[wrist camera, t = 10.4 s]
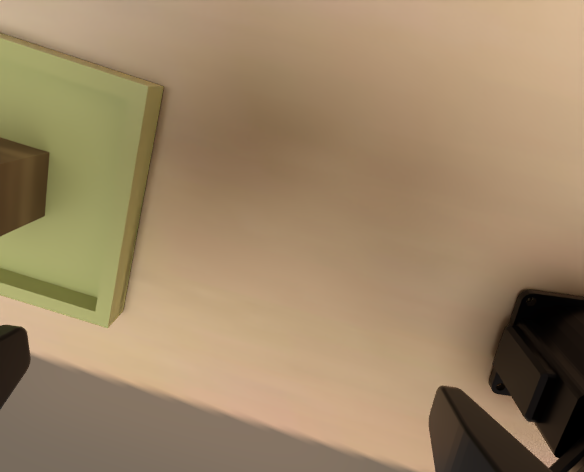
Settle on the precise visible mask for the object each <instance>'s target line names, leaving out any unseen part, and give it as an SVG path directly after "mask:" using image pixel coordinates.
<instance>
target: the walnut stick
mask: <svg viewBox="0 0 584 472" xmlns="http://www.w3.org/2000/svg"><path fill="white" fill-rule="evenodd" d="M49 153H50V152H47V151H43V150H40V149H37V148H33V147H30V146H27V145H24V144H20V143H17V142H14V141H11V140H7V139H4V138H1V137H0V236H2V235H5V234H7V233H9V232H11V231H13V230H16V229H18V228H20V227H22V226H24V225H26V224H29V223H31V222H33V221H35V220H37V219H40V218H42V217H44V216H45V206H46V193H47V180H48V167H49Z"/></svg>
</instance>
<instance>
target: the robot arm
mask: <svg viewBox="0 0 584 472" xmlns="http://www.w3.org/2000/svg"><path fill="white" fill-rule="evenodd" d="M529 298H533V299H532V301H530V302H526V301H527V299H529ZM30 359H31V358H30V350H29V343H28V336H27V331H26V330H25V329H24V328H23V327H19V326H12V325H2V326H0V409H1V408H2V406H3V405H4V403H5V402H6V400H7V399H8V397H9V396H10V395H11V393H12V392H13V390H14V389H15V387H16V386H17V384H18V383H19V381H20V380H21V378H22V377H23V375H24V374H25V372H26V371H27V369H28V367H29V364H30ZM493 366H494V368H493V371H492V374H491V377H490V380H489V385H490V387H491V389H492V391H493V392H494V393H497V394H502V395H509V396H512V398H513V400H514V401H515V403H516V405H517V406H518V408H519V410H520V411H521V413H522V415H523V416H524V417H525V419H526V420H527V421H529V422H534V423H535V425H536V426H537V428H538V429H539V431H540V433H541V434H542V436H543V438H544V439H545V441H546V442H547V444H548V446H549V447H550V449H551V450H552V452H553V454H554V455H555V456H556V457H557V458H559V459H558V460H557V461H556V462H555V463H554V464H553V465H552V466H551V467H550V468H548V467H547V466H546V465H545V464H543V463H542V462H541V461H540V460H539V459H538V458H537V457H536V456H535V455H533V454H532V453H531V452H530V451H529V450H528V449H527V448H526V447H524V446H523V445H522V444H521V443H520V442H519V441H518V440H517V439H516V438H514V437H513V436H512V435H511V434H510V433H509V432H508V431H507V430H506V429H504V428H503V427H502V426H501V425H500V424H499V423H498V422H497V421H496V420H494V419H493V418H492V417H491V416H490V415H489V414H488V413H487V412H485V411H484V410H483V409H482V408H481V407H480V406H479V405H478V404H477V403H475V402H474V401H473V400H472V399H471V398H470V397H469V396H468V395H467V394H465V393H464V392H463V391H462V390H461V389H459V388H456V387H449V386H440V387H439V388H438V389H437V391H436V394H435V398H434V401H433V405H432V408H431V412H430V415H429V431H430V438H431V445H432V451H433V458H434V465H435V471H436V472H584V297H581V296H574V295H566V294H558V293H551V292H543V291H536V290H525V291H523V292H522V293H520V295H519V296H518V299H517V302H516V304H515V307H514V310H513V313H512V316H511V319H510V322H509V325H508V326H507V327H505V329H504V332H503V335H502V338H501V341H500V344H499V346H498V349H497V352H496V355H495V358H494V361H493ZM499 383H502V384H501V385H499V386H497V384H499Z"/></svg>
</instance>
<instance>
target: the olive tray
mask: <svg viewBox="0 0 584 472" xmlns="http://www.w3.org/2000/svg"><path fill="white" fill-rule="evenodd" d="M163 89H164V86H161V85H158V84H155V83H152V82H149V81H146V80H142V79H139V78H136V77H133V76H130V75H127V74H124V73H121V72H118V71H115V70H112V69H109V68H106V67H103V66H100V65H97V64H94V63H91V62H88V61H85V60H82V59H78V58H75V57H72V56H69V55H66V54H63V53H60V52H57V51H54V50H51V49H48V48H45V47H42V46H39V45H36V44H33V43H30V42H27V41H24V40H21V39H17V38H14V37H11V36H8V35H5V34H2V33H0V137H1V138H4V139H7V140H11V141H14V142H17V143H20V144H24V145H27V146H30V147H33V148H37V149H40V150H43V151H47V152H50V153H49V167H48V180H47V193H46V206H45V216H44V217H42V218H40V219H37V220H35V221H33V222H31V223H29V224H26V225H24V226H22V227H20V228H18V229H16V230H13V231H11V232H9V233H7V234H5V235H2V236H0V295H1V296H5V297H8V298H11V299H14V300H18V301H21V302H24V303H27V304H31V305H34V306H37V307H40V308H44V309H47V310H50V311H53V312H57V313H60V314H63V315H66V316H70V317H73V318H76V319H79V320H83V321H86V322H89V323H92V324H96V325H99V326H102V327H106V328H108V327H109V326H110V325H111V324H112V323H113V322H114V321H115V320H116V318H117V317H118V316H119V315H120V314H121V313H122V312H123V309H124V303H125V298H126V292H127V287H128V281H129V276H130V270H131V265H132V259H133V254H134V248H135V243H136V237H137V232H138V226H139V221H140V215H141V210H142V204H143V199H144V193H145V188H146V182H147V177H148V171H149V166H150V160H151V155H152V149H153V144H154V138H155V133H156V127H157V122H158V116H159V111H160V105H161V100H162V94H163Z"/></svg>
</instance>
